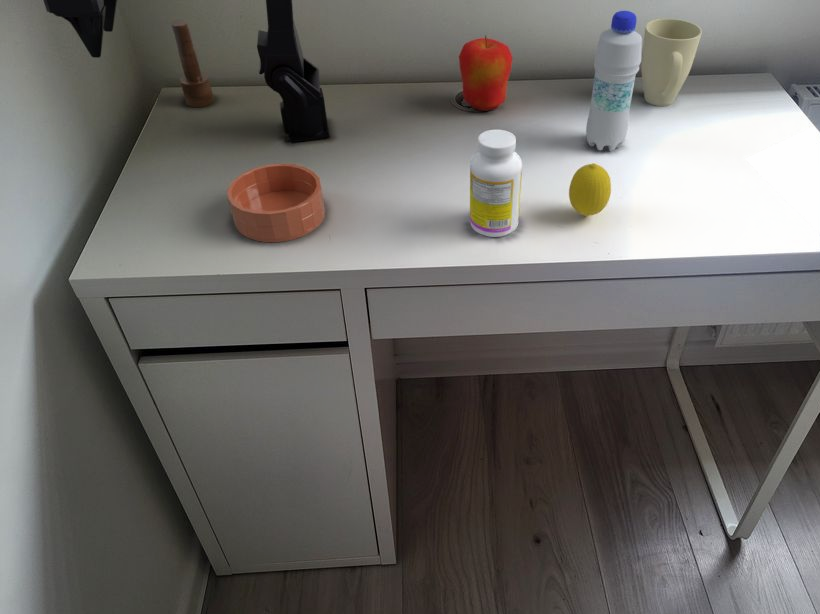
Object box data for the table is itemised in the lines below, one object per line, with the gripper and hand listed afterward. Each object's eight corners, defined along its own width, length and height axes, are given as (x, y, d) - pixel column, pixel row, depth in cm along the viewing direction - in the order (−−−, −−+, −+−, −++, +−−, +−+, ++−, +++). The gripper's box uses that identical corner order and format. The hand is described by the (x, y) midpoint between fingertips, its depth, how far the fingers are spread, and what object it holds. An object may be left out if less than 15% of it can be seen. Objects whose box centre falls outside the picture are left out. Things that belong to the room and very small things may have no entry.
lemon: (562, 205, 100) (569, 154, 94) (601, 203, 100) (610, 152, 94) (570, 228, 96) (576, 176, 90) (610, 226, 96) (619, 174, 91)
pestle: (214, 93, 123) (194, 16, 114) (214, 105, 120) (193, 27, 111) (186, 96, 123) (164, 18, 113) (186, 108, 120) (163, 29, 110)
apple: (454, 114, 119) (453, 42, 110) (465, 92, 125) (465, 22, 116) (504, 120, 117) (507, 48, 109) (513, 97, 123) (517, 27, 115)
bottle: (630, 138, 113) (655, 7, 99) (618, 158, 109) (642, 24, 95) (590, 130, 115) (608, 0, 101) (577, 148, 111) (594, 15, 97)
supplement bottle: (490, 205, 100) (493, 119, 91) (528, 222, 97) (535, 136, 88) (459, 226, 96) (459, 139, 87) (498, 245, 93) (502, 157, 84)
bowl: (320, 186, 103) (315, 158, 100) (329, 235, 94) (325, 206, 91) (233, 197, 101) (226, 169, 97) (235, 248, 92) (227, 219, 89)
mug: (617, 98, 123) (629, 27, 115) (657, 83, 128) (671, 14, 119) (665, 123, 117) (681, 50, 109) (705, 106, 121) (723, 35, 113)
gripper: (18, -105, 94) (56, 17, 105) (-26, -64, 81) (22, 71, 92) (108, -100, 96) (136, 19, 107) (79, -59, 83) (114, 72, 94)
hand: (102, 43), depth 100 cm, fingers open, 9 cm apart
